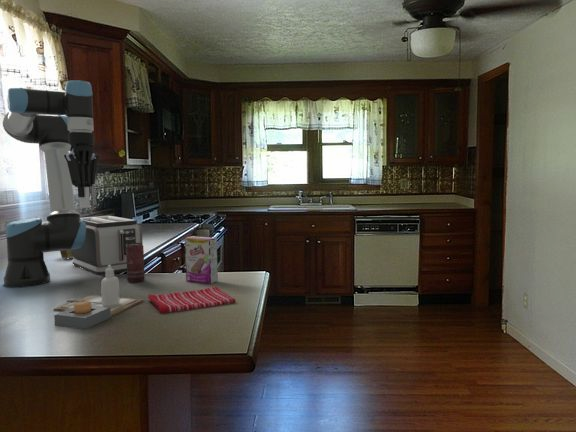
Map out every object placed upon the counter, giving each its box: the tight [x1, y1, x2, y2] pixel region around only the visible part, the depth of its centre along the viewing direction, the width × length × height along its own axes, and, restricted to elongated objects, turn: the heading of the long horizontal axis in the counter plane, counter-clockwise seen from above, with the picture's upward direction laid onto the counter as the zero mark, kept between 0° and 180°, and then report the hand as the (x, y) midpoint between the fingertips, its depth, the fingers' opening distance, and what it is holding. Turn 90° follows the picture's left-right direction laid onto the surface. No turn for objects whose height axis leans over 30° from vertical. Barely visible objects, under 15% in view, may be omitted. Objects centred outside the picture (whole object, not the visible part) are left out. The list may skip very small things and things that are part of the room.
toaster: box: [71, 215, 144, 276], centre depth 204 cm, size 19×35×20 cm, turn 42°
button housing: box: [53, 305, 112, 330], centre depth 131 cm, size 10×10×3 cm
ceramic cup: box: [59, 250, 74, 259], centre depth 227 cm, size 13×10×10 cm
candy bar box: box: [184, 235, 219, 285], centre depth 176 cm, size 11×5×16 cm, turn 65°
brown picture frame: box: [53, 294, 145, 317], centre depth 147 cm, size 22×16×1 cm
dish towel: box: [147, 286, 236, 314], centre depth 150 cm, size 17×24×3 cm
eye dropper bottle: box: [100, 265, 120, 306], centre depth 145 cm, size 4×6×12 cm
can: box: [126, 243, 146, 284], centre depth 178 cm, size 6×6×14 cm
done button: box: [74, 301, 92, 314], centre depth 131 cm, size 4×4×3 cm
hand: (84, 207), depth 152 cm, fingers closed
